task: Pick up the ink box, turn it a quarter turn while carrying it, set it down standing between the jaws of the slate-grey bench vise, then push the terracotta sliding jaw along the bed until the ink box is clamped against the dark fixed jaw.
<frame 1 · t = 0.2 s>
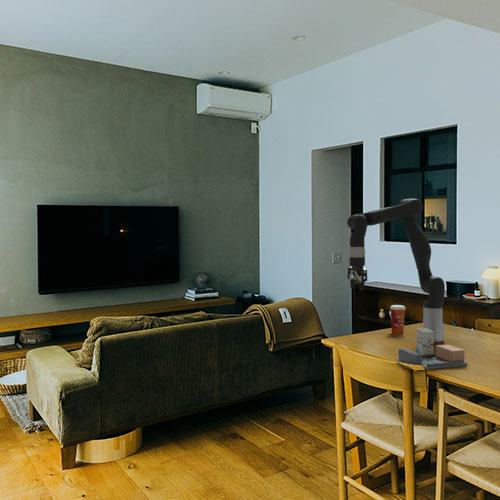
hand: (357, 289, 251), 29 cm above the table, fingers open, 8 cm apart
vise: (431, 363, 222), on the table
jaw: (449, 353, 225), point 4 cm above the table, slide at 0.0 cm
ink box: (424, 355, 238), on the table
coffee cup: (397, 333, 285), on the table
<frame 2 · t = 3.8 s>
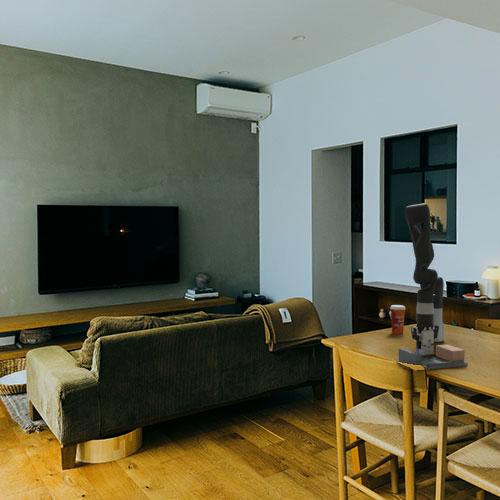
hand: (424, 348, 238), 3 cm above the table, fingers closed on ink box, 5 cm apart
ink box: (424, 355, 238), on the table, touching gripper
everything else where it was.
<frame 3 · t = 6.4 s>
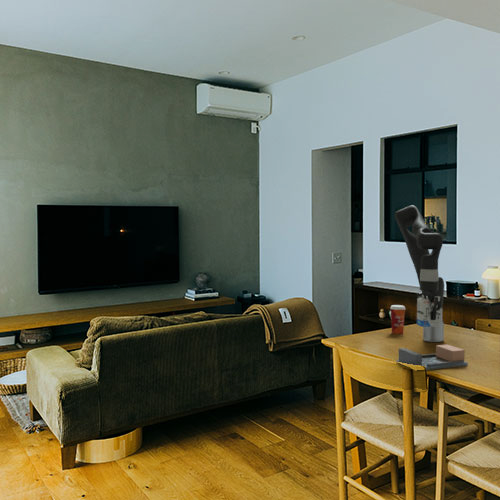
hand: (428, 318, 221), 20 cm above the table, fingers closed on ink box, 5 cm apart
ink box: (428, 326, 221), point 17 cm above the table, touching gripper
everything else where it was.
when the fingers open (6 cm above the table, at t = 9.4 s): ink box drops 2 cm, resting on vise.
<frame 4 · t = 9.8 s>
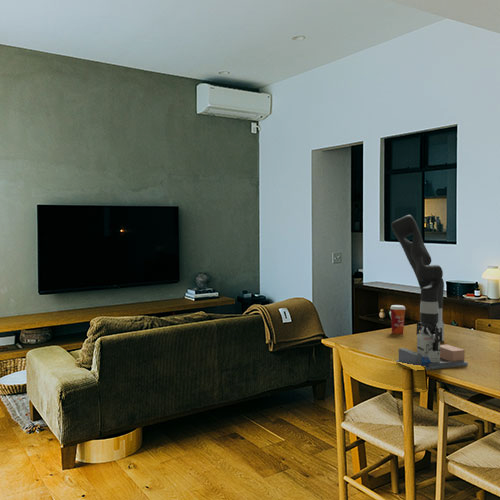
hand: (428, 348, 222), 7 cm above the table, fingers open, 8 cm apart
ink box: (428, 361, 222), point 1 cm above the table, touching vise
everything else where it was.
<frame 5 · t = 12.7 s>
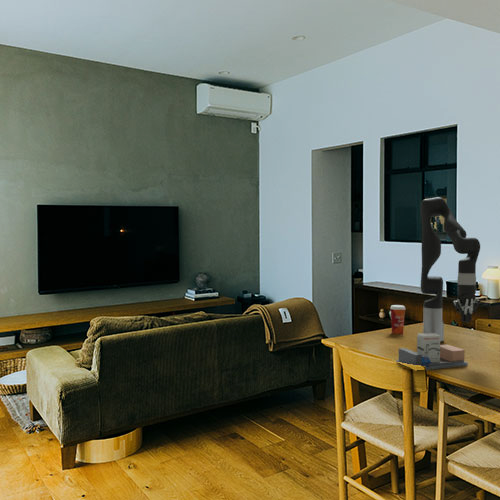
hand: (466, 322, 227), 17 cm above the table, fingers closed
nothing on the table moved.
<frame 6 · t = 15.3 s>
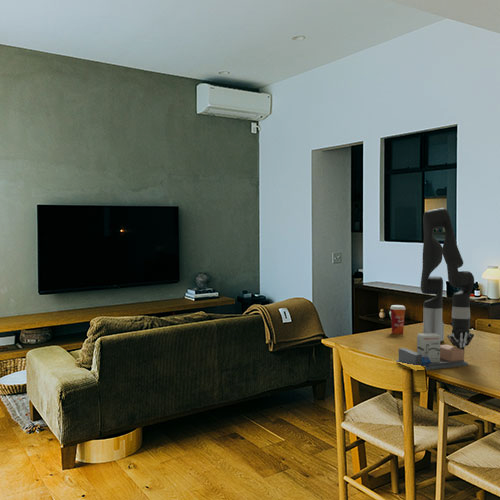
hand: (460, 355, 227), 2 cm above the table, fingers closed
jaw: (449, 353, 225), point 4 cm above the table, slide at 0.2 cm, touching gripper
everything else where it was.
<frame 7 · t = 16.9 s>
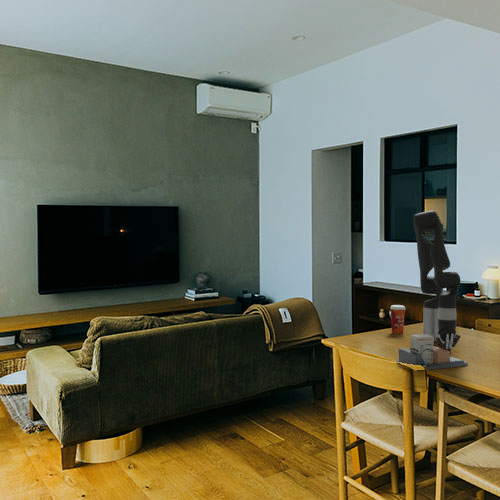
hand: (446, 356, 224), 2 cm above the table, fingers closed
jaw: (435, 354, 223), point 4 cm above the table, slide at 7.5 cm, touching gripper, ink box
ink box: (421, 362, 220), point 1 cm above the table, touching jaw, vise
everything else where it was.
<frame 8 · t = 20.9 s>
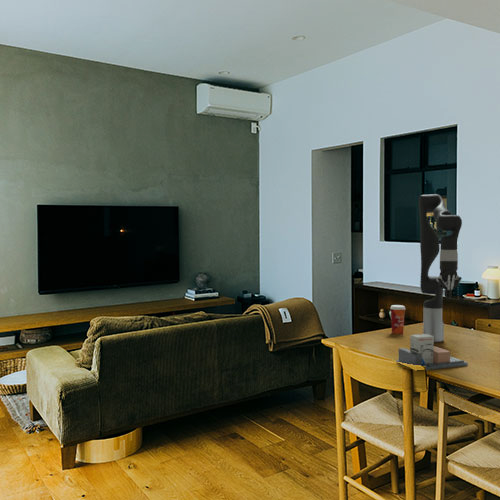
hand: (448, 297, 232), 27 cm above the table, fingers closed
jaw: (435, 354, 223), point 4 cm above the table, slide at 7.4 cm, touching ink box
everything else where it was.
at the end: ink box inside the target area on the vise (0.4 cm from its centre), point 1.0 cm above the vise's base; jaw slide at 7.4 cm; ink box tilted 0° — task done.
